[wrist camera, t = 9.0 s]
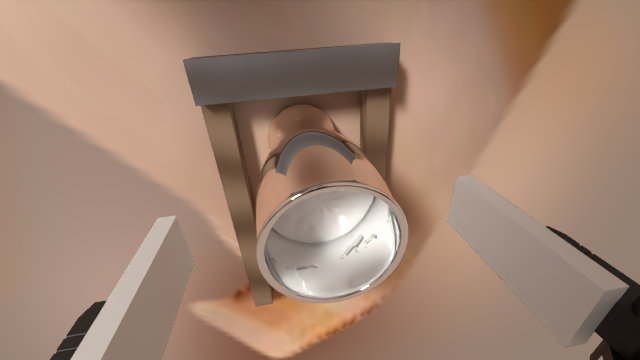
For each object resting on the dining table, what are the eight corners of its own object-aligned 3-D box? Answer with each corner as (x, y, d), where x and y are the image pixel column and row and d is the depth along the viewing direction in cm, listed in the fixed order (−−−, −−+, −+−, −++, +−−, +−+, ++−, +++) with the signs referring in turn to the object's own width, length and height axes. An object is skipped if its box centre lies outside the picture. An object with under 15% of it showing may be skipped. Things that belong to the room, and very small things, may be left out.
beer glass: (353, 123, 24) (446, 219, 11) (314, 182, 27) (353, 320, 14) (287, 82, 22) (306, 144, 9) (249, 151, 24) (221, 283, 11)
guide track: (194, 57, 20) (182, 59, 17) (385, 42, 22) (400, 43, 19) (256, 293, 33) (255, 315, 30) (374, 273, 34) (382, 292, 32)
